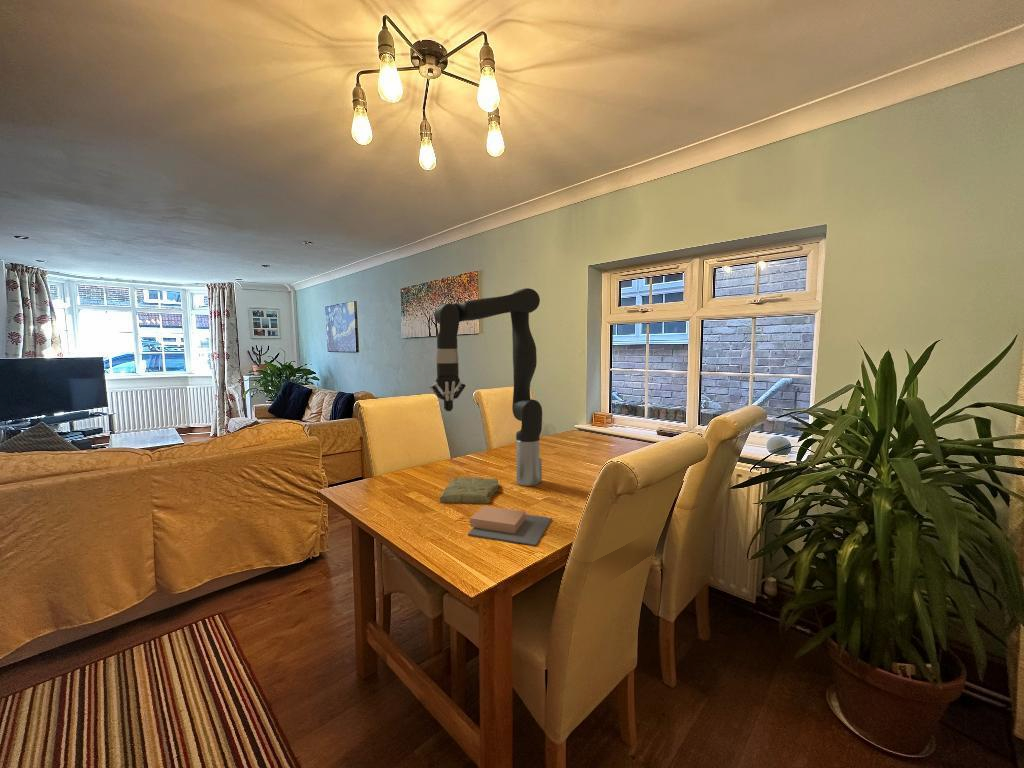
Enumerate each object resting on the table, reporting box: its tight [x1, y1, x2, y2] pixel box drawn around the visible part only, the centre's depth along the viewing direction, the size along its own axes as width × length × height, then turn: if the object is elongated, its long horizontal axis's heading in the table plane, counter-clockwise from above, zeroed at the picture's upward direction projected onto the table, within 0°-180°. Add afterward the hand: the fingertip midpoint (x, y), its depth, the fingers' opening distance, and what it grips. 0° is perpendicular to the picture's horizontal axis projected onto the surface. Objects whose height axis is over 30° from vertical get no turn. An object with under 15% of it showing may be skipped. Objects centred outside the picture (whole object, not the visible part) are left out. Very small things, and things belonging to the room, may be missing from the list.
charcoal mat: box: [467, 514, 553, 547], centre depth 119 cm, size 20×18×1 cm
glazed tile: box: [469, 505, 527, 534], centre depth 121 cm, size 3×10×14 cm
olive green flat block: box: [439, 476, 500, 504], centre depth 148 cm, size 19×20×4 cm
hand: (448, 410), depth 142 cm, fingers closed
